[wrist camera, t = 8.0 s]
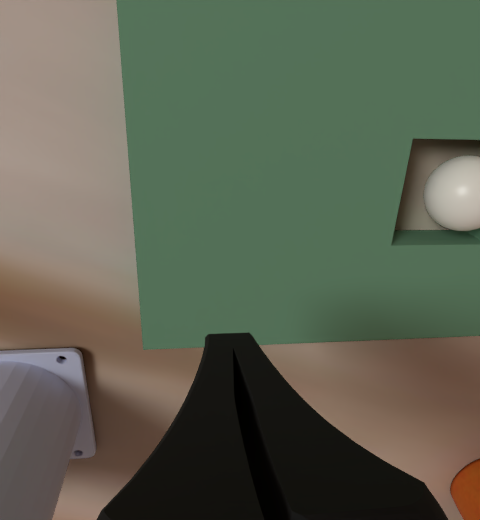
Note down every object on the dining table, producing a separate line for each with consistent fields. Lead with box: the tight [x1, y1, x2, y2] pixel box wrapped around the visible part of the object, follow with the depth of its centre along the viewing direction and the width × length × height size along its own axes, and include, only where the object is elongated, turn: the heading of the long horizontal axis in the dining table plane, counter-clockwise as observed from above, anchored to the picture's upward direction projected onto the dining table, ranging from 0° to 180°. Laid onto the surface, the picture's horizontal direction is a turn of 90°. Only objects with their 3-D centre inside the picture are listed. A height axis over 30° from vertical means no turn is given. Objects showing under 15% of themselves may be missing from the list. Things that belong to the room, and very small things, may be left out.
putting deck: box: [117, 0, 480, 350], centre depth 20 cm, size 19×16×2 cm
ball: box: [423, 155, 480, 231], centre depth 20 cm, size 4×4×4 cm
